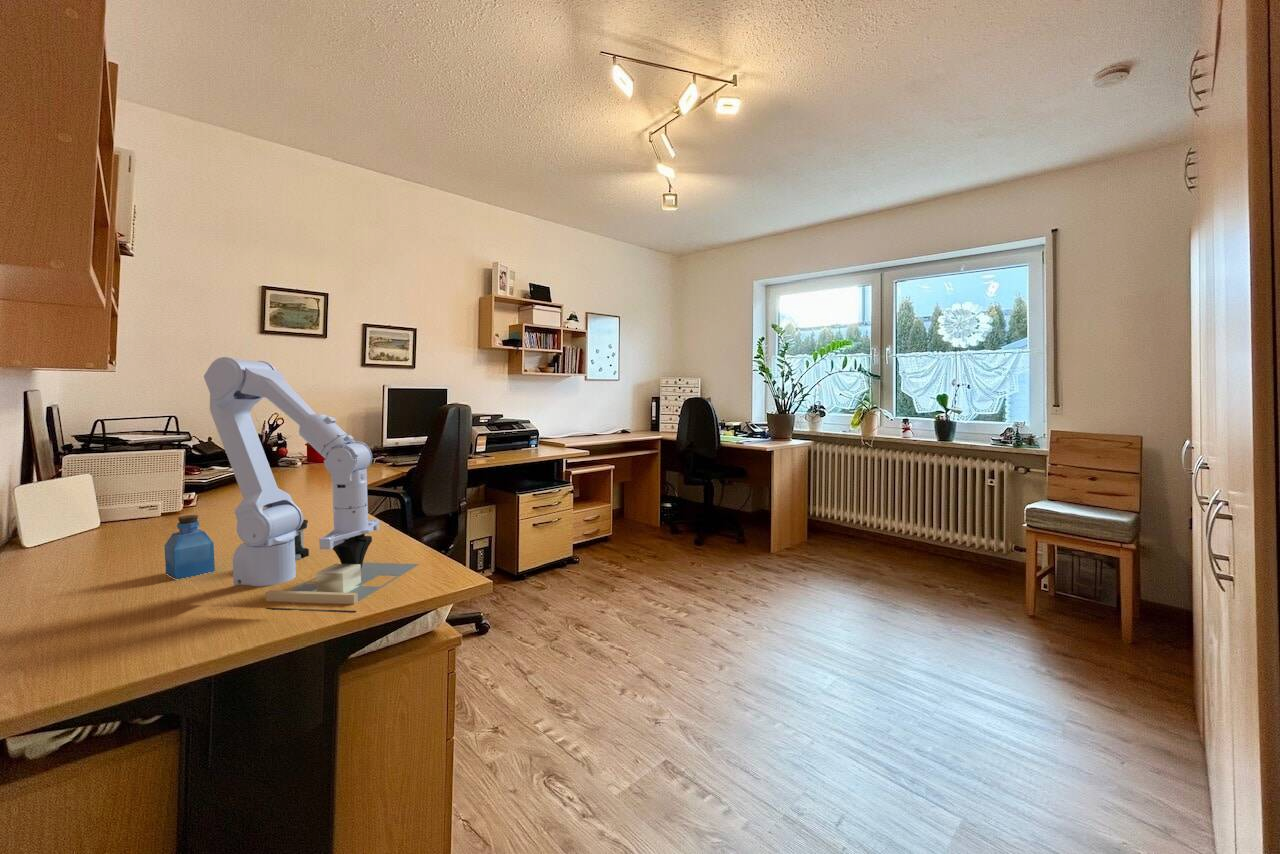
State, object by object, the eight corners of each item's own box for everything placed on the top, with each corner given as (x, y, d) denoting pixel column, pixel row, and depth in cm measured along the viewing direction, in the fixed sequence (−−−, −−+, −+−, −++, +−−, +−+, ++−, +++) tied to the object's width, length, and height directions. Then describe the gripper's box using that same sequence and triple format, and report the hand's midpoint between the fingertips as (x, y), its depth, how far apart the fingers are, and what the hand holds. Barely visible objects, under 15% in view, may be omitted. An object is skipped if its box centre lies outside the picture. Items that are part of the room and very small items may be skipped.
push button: (282, 569, 106) (280, 523, 106) (268, 565, 109) (266, 520, 108) (314, 560, 112) (313, 516, 112) (300, 557, 115) (298, 514, 114)
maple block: (316, 591, 89) (316, 572, 89) (336, 581, 94) (335, 563, 94) (343, 592, 89) (342, 573, 89) (361, 582, 94) (360, 564, 94)
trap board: (266, 609, 85) (265, 592, 85) (348, 569, 106) (348, 555, 106) (354, 612, 84) (353, 595, 84) (419, 571, 105) (419, 557, 105)
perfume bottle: (214, 571, 105) (212, 515, 104) (176, 580, 100) (173, 521, 99) (203, 566, 108) (201, 512, 108) (165, 574, 103) (163, 517, 103)
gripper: (344, 514, 87) (347, 590, 88) (392, 498, 102) (394, 564, 103) (307, 514, 88) (309, 589, 89) (360, 498, 102) (361, 563, 103)
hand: (352, 575), depth 96 cm, fingers closed
